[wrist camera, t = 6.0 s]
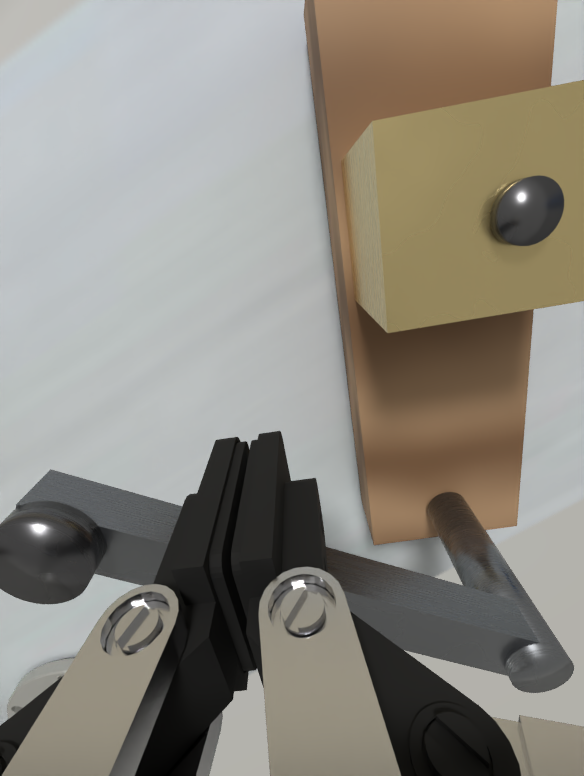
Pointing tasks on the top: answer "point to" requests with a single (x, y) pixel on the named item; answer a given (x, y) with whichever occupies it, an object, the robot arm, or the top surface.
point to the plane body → (439, 342)
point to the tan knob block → (469, 209)
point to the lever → (354, 573)
